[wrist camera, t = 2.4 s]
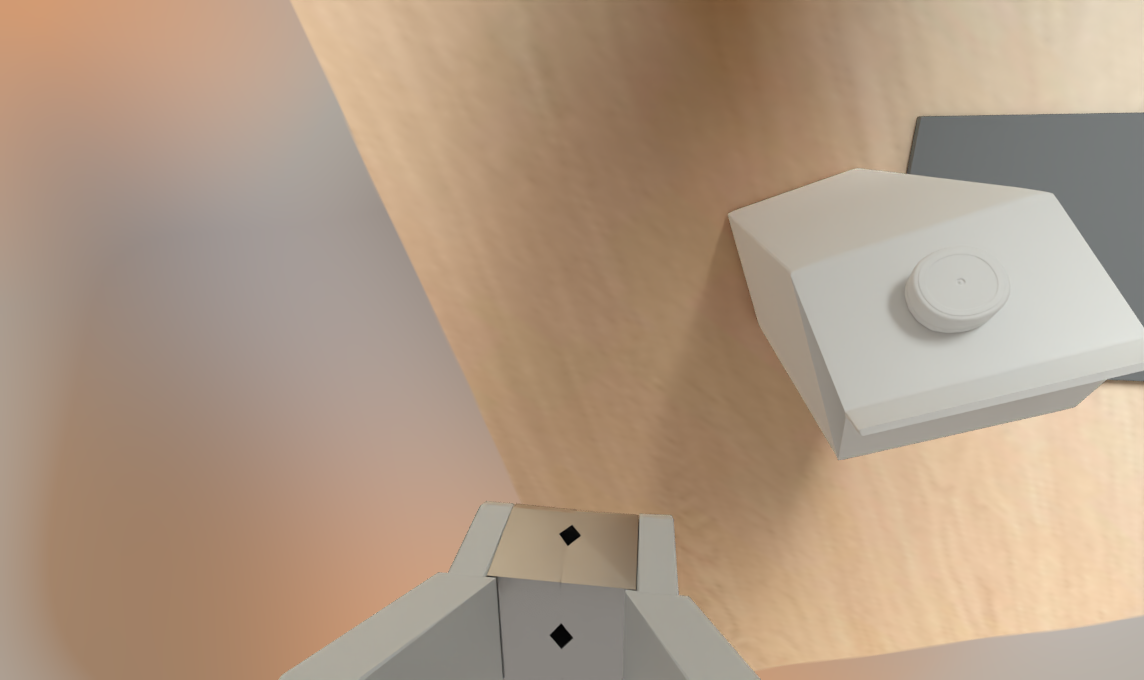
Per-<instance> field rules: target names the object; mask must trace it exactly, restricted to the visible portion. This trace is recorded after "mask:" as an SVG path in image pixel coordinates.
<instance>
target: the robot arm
mask: <svg viewBox="0 0 1144 680" xmlns="http://www.w3.org/2000/svg"><path fill="white" fill-rule="evenodd" d="M638 524H639V525H638ZM279 680H761V679H760V678H759V677H758V676H757V675H756V674H755V672H754V671H753V670H752V669H751V668H750V666H749V665H748V664H747V663H746V662H745V661H744V659H743V658H742V657H741V656H740V655H739V654H738V652H737V651H736V650H735V649H734V648H733V647H732V645H731V644H730V643H729V642H728V641H727V640H726V639H725V637H724V636H723V635H722V634H721V633H720V632H719V630H718V629H717V628H716V627H715V626H714V625H713V623H712V622H711V621H710V620H709V619H708V618H707V616H706V615H705V614H704V613H703V612H702V611H701V610H700V608H699V607H698V606H697V605H696V604H695V603H694V601H693V600H692V599H691V598H690V597H689V596H681V595H679V592H678V577H677V562H676V547H675V532H674V519H673V517H672V516H671V515H659V514H640V515H636V514H622V513H609V512H595V511H581V510H575V509H565V508H555V507H546V506H536V505H526V504H516V505H515V504H513V503H501V502H490V501H486V502H484V503H483V504H482V505H481V506H480V507H479V509H478V511H477V513H476V515H475V517H474V520H473V522H472V524H471V526H470V528H469V530H468V532H467V534H466V536H465V538H464V540H463V543H462V545H461V547H460V549H459V551H458V553H457V555H456V557H455V559H454V561H453V564H452V565H451V567H450V570H449V572H448V573H440V572H438V573H437V574H435V575H434V576H432V577H430V578H429V579H427V580H426V581H424V582H423V583H421V584H420V585H418V586H417V587H415V588H414V589H413V590H411V591H409V592H408V593H406V594H405V595H403V596H402V597H400V598H398V599H397V600H395V601H394V602H392V603H391V604H389V605H388V606H386V607H385V608H383V609H382V610H380V611H379V612H377V613H376V614H374V615H373V616H371V617H370V618H368V619H366V620H365V621H363V622H362V623H360V624H359V625H357V626H356V627H354V628H353V629H351V630H350V631H348V632H347V633H345V634H344V635H342V636H341V637H339V638H338V639H336V640H335V641H333V642H332V643H330V644H328V645H327V646H325V647H324V648H323V649H321V650H319V651H318V652H316V653H315V654H313V655H312V656H310V657H309V658H307V659H306V660H304V661H303V662H301V663H300V664H298V665H297V666H295V667H294V668H292V669H290V670H289V671H287V672H286V673H284V674H283V675H282V676H281V677H280V679H279Z"/></svg>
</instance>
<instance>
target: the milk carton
mask: <svg viewBox="0 0 1144 680" xmlns="http://www.w3.org/2000/svg"><path fill="white" fill-rule="evenodd" d="M728 218H729V222H730V225H731V229H732V232H733V236H734V239H735V243H736V246H737V250H738V253H739V257H740V260H741V264H742V268H743V271H744V275H745V278H746V282H747V285H748V289H749V292H750V296H751V299H752V303H753V306H754V310H755V313H756V317H757V320H758V324H759V326H760V328H761V330H762V331H763V333H764V335H765V336H766V338H767V340H768V341H769V343H770V345H771V347H772V348H773V350H774V352H775V353H776V355H777V357H778V358H779V360H780V362H781V363H782V365H783V367H784V368H785V370H786V372H787V374H788V375H789V377H790V379H791V380H792V382H793V384H794V385H795V387H796V389H797V390H798V392H799V394H800V395H801V397H802V399H803V400H804V402H805V404H806V406H807V407H808V409H809V411H810V412H811V414H812V416H813V417H814V419H815V421H816V422H817V424H818V426H819V427H820V429H821V431H822V433H823V434H824V436H825V438H826V439H827V441H828V443H829V444H830V446H831V448H832V449H833V451H834V453H835V454H836V456H837V458H838V460H843V459H848V458H852V457H857V456H862V455H866V454H871V453H875V452H879V451H884V450H888V449H893V448H897V447H902V446H906V445H911V444H915V443H919V442H924V441H928V440H933V439H937V438H942V437H946V436H951V435H955V434H959V433H964V432H968V431H973V430H977V429H982V428H986V427H991V426H995V425H999V424H1004V423H1008V422H1013V421H1017V420H1022V419H1026V418H1031V417H1035V416H1039V415H1044V414H1048V413H1053V412H1057V411H1061V410H1065V409H1069V408H1073V407H1075V406H1077V405H1078V404H1079V403H1080V402H1081V401H1083V400H1084V399H1085V398H1086V397H1087V396H1088V395H1089V394H1091V393H1092V392H1093V391H1094V390H1095V389H1096V388H1098V387H1099V386H1100V385H1101V384H1102V383H1103V382H1105V381H1106V380H1107V379H1110V378H1114V377H1118V376H1122V375H1127V374H1131V373H1135V372H1140V371H1144V327H1143V326H1142V324H1141V323H1140V321H1139V320H1138V318H1137V317H1136V315H1135V314H1134V312H1133V311H1132V309H1131V308H1130V306H1129V305H1128V303H1127V302H1126V300H1125V299H1124V297H1123V296H1122V294H1121V293H1120V291H1119V290H1118V288H1117V287H1116V286H1115V284H1114V283H1113V281H1112V280H1111V278H1110V277H1109V275H1108V274H1107V272H1106V271H1105V269H1104V268H1103V266H1102V265H1101V263H1100V262H1099V260H1098V259H1097V257H1096V256H1095V254H1094V253H1093V251H1092V250H1091V248H1090V247H1089V245H1088V244H1087V243H1086V241H1085V240H1084V238H1083V237H1082V235H1081V234H1080V232H1079V231H1078V229H1077V228H1076V226H1075V225H1074V223H1073V222H1072V220H1071V219H1070V217H1069V216H1068V214H1067V213H1066V211H1065V210H1064V208H1063V207H1062V205H1061V204H1060V203H1059V201H1058V200H1057V198H1056V197H1055V196H1054V194H1053V193H1049V192H1044V191H1038V190H1032V189H1026V188H1018V187H1010V186H1002V185H994V184H986V183H977V182H969V181H961V180H953V179H944V178H936V177H928V176H919V175H911V174H903V173H895V172H886V171H878V170H870V169H862V168H857V169H852V170H849V171H846V172H843V173H840V174H837V175H834V176H832V177H829V178H826V179H823V180H820V181H817V182H814V183H812V184H809V185H806V186H803V187H800V188H797V189H794V190H791V191H789V192H786V193H783V194H780V195H777V196H774V197H771V198H768V199H766V200H763V201H760V202H757V203H754V204H751V205H748V206H746V207H743V208H740V209H737V210H734V211H732V212H730V213H728Z"/></svg>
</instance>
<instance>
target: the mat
mask: <svg viewBox="0 0 1144 680" xmlns="http://www.w3.org/2000/svg"><path fill="white" fill-rule="evenodd" d="M907 174H911V175H919V176H928V177H936V178H944V179H953V180H961V181H969V182H977V183H986V184H994V185H1002V186H1010V187H1018V188H1026V189H1032V190H1038V191H1044V192H1049V193H1053V194H1054V196H1055V197H1056V198H1057V200H1058V201H1059V203H1060V204H1061V205H1062V207H1063V208H1064V210H1065V211H1066V213H1067V214H1068V216H1069V217H1070V219H1071V220H1072V222H1073V223H1074V225H1075V226H1076V228H1077V229H1078V231H1079V232H1080V234H1081V235H1082V237H1083V238H1084V240H1085V241H1086V243H1087V244H1088V245H1089V247H1090V248H1091V250H1092V251H1093V253H1094V254H1095V256H1096V257H1097V259H1098V260H1099V262H1100V263H1101V265H1102V266H1103V268H1104V269H1105V271H1106V272H1107V274H1108V275H1109V277H1110V278H1111V280H1112V281H1113V283H1114V284H1115V286H1116V287H1117V288H1118V290H1119V291H1120V293H1121V294H1122V296H1123V297H1124V299H1125V300H1126V302H1127V303H1128V305H1129V306H1130V308H1131V309H1132V311H1133V312H1134V314H1135V315H1136V317H1137V318H1138V320H1139V321H1140V323H1141V324H1142V326H1143V327H1144V113H1094V114H1037V115H979V116H922V117H918V118H917V123H916V129H915V134H914V139H913V144H912V149H911V154H910V160H909V165H908V170H907ZM1107 380H1130V381H1144V371H1140V372H1135V373H1131V374H1127V375H1122V376H1118V377H1114V378H1110V379H1107Z"/></svg>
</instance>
